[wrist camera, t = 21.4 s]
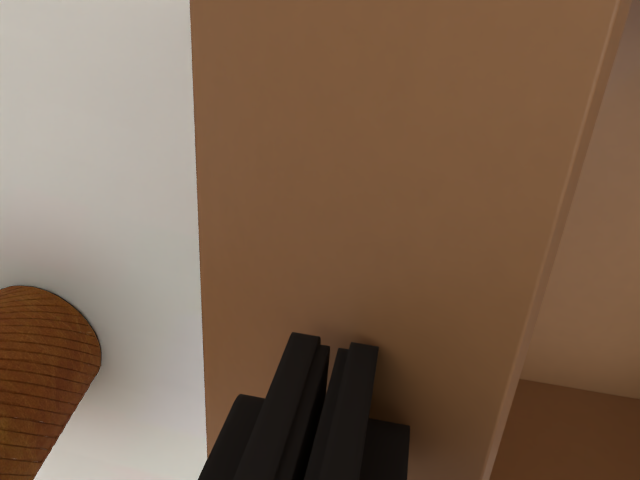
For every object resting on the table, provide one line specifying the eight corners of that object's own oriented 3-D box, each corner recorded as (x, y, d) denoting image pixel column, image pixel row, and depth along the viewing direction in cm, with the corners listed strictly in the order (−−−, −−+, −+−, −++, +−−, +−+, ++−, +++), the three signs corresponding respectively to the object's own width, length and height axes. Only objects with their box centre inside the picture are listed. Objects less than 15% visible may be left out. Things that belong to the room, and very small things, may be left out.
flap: (218, 481, 18) (207, 488, 18) (204, -65, 11) (186, -66, 11) (423, 701, 13) (413, 715, 13) (644, -37, 6) (631, -37, 6)
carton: (274, 337, 25) (218, 468, 18) (288, -58, 18) (204, -67, 11) (670, 405, 23) (762, 581, 16) (870, -16, 15) (1175, 2, 9)
